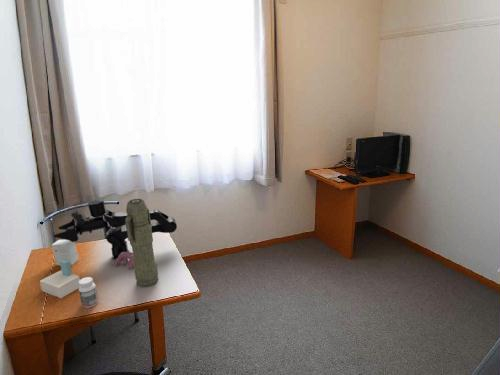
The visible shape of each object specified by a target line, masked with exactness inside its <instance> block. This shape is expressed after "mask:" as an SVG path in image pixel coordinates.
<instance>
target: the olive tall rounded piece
mask: <svg viewBox="0 0 500 375" xmlns="http://www.w3.org/2000/svg"><path fill="white" fill-rule="evenodd" d="M149 211H150V210H149V208H148V206H147V204H146V203H145V201H144V199H142V198H134V199H130V200H129V201H127V203H126V208H125V212H126V213H127V217H126V220H125V223H126V225H125V228H126V229H127V235H128V238H127V242H128V241H129V245H130V246H131V251H132V253H133V257H134V263H135V266H134V267H133V271H134V276H135V280H136V285H137V286H138V287H141V288H148V287H151V286H154V285H155V284H157V283H158V282H159V276H158V275H159V272H158V265H157V264H158V263H157V262H156V261H155V253H154V246H153V242H154V237H153V233H152V228H151V224H152V222H151V221H152V220H150V213H149Z"/></svg>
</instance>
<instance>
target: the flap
mask: <svg viewBox="0 0 500 375" xmlns="http://www.w3.org/2000/svg"><path fill="white" fill-rule="evenodd" d="M59 266H60V270H58V271H56V272H54V273H53V274H50V275H48V276H47V277H45V278H42V279H41V280H39V283H40V282H41V283H43V284H46V285H49V286H52V287H54V288H57V289H60V288H62V287H64V286H65V285H67V284H69V283H71V282H73V281H74V280H76V279H78V278H80V276H79V275H76V274H74V273H73V271H72V267H71V266H72V265H70V261H68V260H65V259H64V260H62V261H60V265H59ZM80 279H81V278H80Z"/></svg>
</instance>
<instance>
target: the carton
mask: <svg viewBox="0 0 500 375" xmlns="http://www.w3.org/2000/svg"><path fill="white" fill-rule="evenodd" d="M80 280H81V278H78V279H76V280H74V281H73V282H71V283H69V284H67V285H65V286H64V287H62V288H60V289H57V288H54V287H52V286H49V285H46V284H43V283H41V282H40V281H39V284H40V288H41V292H44V293H46V294H49V295H51V296H53V297H56V298H59V299H63V298H64V297H66V296H68V295H69V294H71V293H73V292H74V291H76V290H79V287H80V286H79V281H80Z"/></svg>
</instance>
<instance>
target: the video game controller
mask: <svg viewBox="0 0 500 375" xmlns="http://www.w3.org/2000/svg"><path fill="white" fill-rule="evenodd" d="M121 263H122V264H123V265H128V269H129V270H132V269H134V267H135V263H134V257H133V251H132V252H131V251H129V252H121V254H119V256H118V258H116V259H115V262H114V266H115V267H118V266H120V264H121Z"/></svg>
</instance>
